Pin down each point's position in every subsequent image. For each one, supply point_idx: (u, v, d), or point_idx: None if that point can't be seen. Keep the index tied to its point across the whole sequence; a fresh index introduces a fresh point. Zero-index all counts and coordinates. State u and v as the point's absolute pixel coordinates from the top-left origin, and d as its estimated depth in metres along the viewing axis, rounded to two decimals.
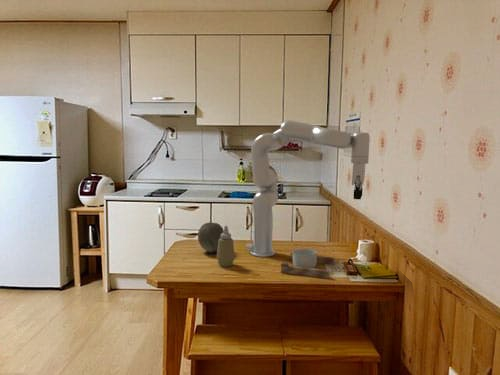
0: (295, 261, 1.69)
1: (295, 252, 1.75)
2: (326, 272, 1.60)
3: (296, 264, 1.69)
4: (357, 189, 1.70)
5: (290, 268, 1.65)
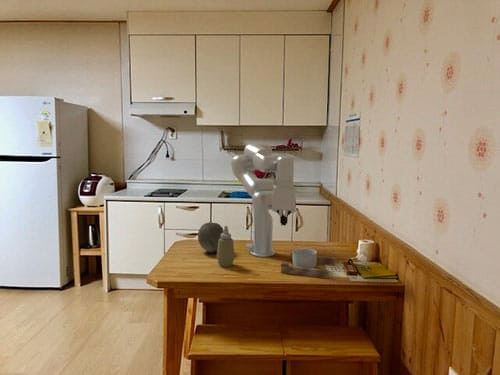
0: (295, 261, 1.69)
1: (295, 252, 1.75)
2: (326, 272, 1.60)
3: (296, 264, 1.69)
4: None
5: (290, 268, 1.65)
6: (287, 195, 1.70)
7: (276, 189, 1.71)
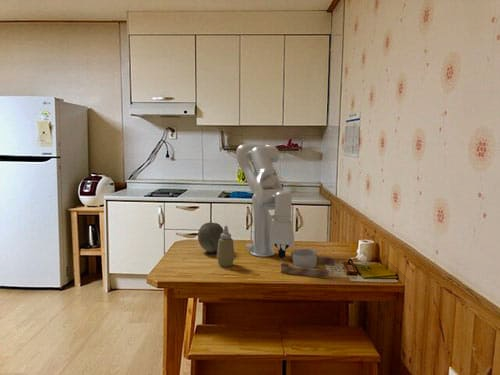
0: (295, 261, 1.69)
1: (295, 252, 1.75)
2: (326, 272, 1.60)
3: (296, 264, 1.69)
4: None
5: (290, 268, 1.65)
6: (285, 230, 1.72)
7: (274, 223, 1.73)
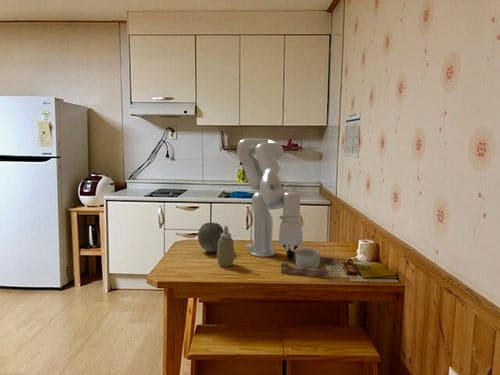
0: (298, 261, 1.68)
1: (298, 252, 1.74)
2: (326, 272, 1.60)
3: (299, 264, 1.68)
4: (294, 249, 1.74)
5: (290, 268, 1.65)
6: (293, 230, 1.70)
7: (282, 224, 1.72)
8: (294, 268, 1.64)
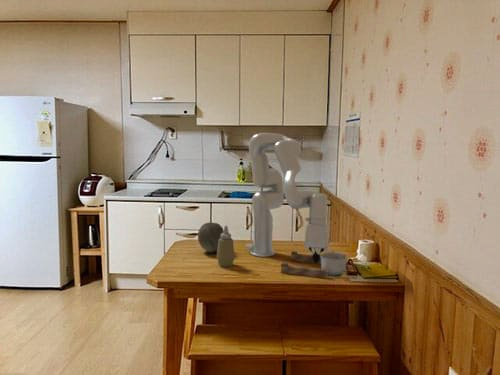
0: (323, 264, 1.64)
1: (324, 255, 1.70)
2: (326, 272, 1.60)
3: (324, 268, 1.64)
4: (320, 252, 1.70)
5: (290, 268, 1.65)
6: (320, 233, 1.67)
7: (309, 226, 1.68)
8: (294, 268, 1.64)
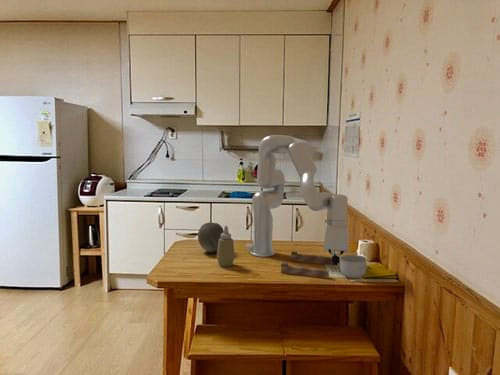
0: (341, 267, 1.62)
1: (344, 258, 1.67)
2: (326, 272, 1.60)
3: (342, 270, 1.61)
4: None
5: (290, 268, 1.65)
6: (341, 235, 1.64)
7: (329, 228, 1.65)
8: (294, 268, 1.64)
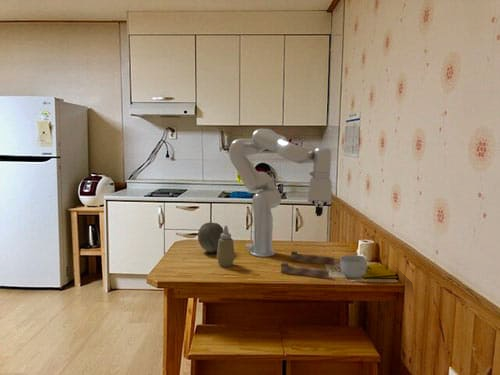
0: (342, 267, 1.62)
1: (344, 258, 1.67)
2: (326, 272, 1.60)
3: (342, 270, 1.61)
4: (323, 206, 1.75)
5: (290, 268, 1.65)
6: (324, 186, 1.71)
7: (313, 180, 1.73)
8: (294, 268, 1.64)
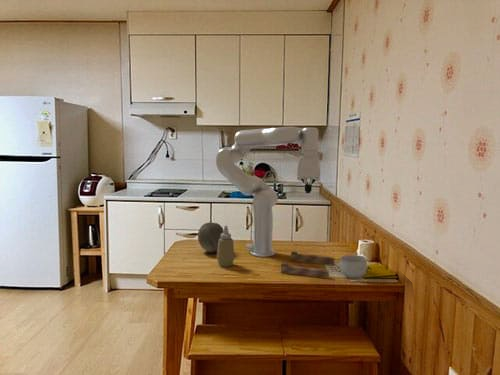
0: (342, 267, 1.62)
1: (344, 258, 1.67)
2: (326, 272, 1.60)
3: (342, 270, 1.61)
4: (312, 183, 1.82)
5: (290, 268, 1.65)
6: (312, 164, 1.79)
7: (301, 158, 1.80)
8: (294, 268, 1.64)
